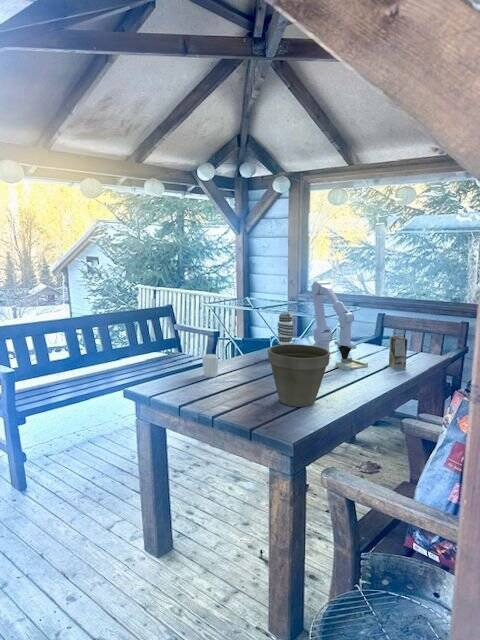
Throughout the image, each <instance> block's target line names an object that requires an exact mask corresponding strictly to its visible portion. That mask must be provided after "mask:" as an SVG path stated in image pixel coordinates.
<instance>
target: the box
mask: <svg viewBox="0 0 480 640" xmlns="http://www.w3.org/2000/svg"><path fill="white" fill-rule="evenodd" d="M352 362H356V363H359V364H363V365H365V367H364V368H367V367H369V362H366V361H364V360H360V359H357V358H355V359H352ZM335 367H336V368H339V369H341V370H345V371H350V370H351V369H350V367H352V366H351V365H348V364H344V363H341V361H338V362H335ZM351 371H352V370H351Z"/></svg>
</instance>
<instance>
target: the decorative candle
mask: <svg viewBox="0 0 480 640" xmlns="http://www.w3.org/2000/svg"><path fill="white" fill-rule="evenodd" d="M277 327H278V328H277V333H278V334H277V337H278V344H277V345H286V344H293V339H292V338H293V333H294V332H293V330H294V328H293V327H294V325H293V315H292V314H291V313H290V312H281V313H280V314H279V315H278V322H277Z"/></svg>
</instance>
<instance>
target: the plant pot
mask: <svg viewBox="0 0 480 640" xmlns="http://www.w3.org/2000/svg"><path fill="white" fill-rule="evenodd" d="M267 349H268V350H267V359H268V363H269V364H270V365H271V366H270V367H271V371H272V376H273V379H274V384H275V388H276V392H277V398H278V400H279V402H280V403H281V404H283V405H285V406H287V407H296V408H304V407H310V406H312V405H314V404H315V402H316V400H317V397H318V394H319V390H320V387H321V386H322V385H321V384H322V382H323V379H324V376H325V372H326V368H327V367H328V366H329V364H330V359H329V358H330V357H331V352H330V350H329V351H328V350H326V349H324V348H321V347H316V346H313V345H309V344H297V343H296V344H294V343H292V344H286V345H278V344H277V345H274V346H271V347H269V348H267Z"/></svg>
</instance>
